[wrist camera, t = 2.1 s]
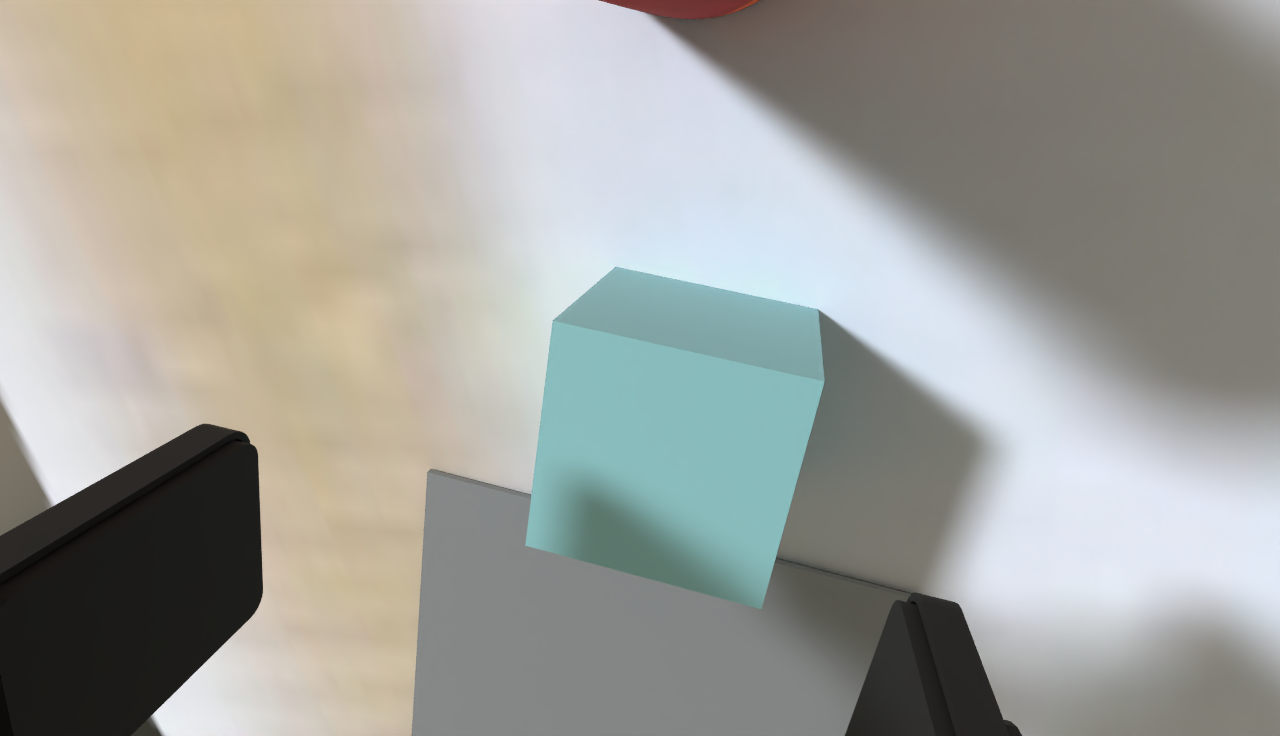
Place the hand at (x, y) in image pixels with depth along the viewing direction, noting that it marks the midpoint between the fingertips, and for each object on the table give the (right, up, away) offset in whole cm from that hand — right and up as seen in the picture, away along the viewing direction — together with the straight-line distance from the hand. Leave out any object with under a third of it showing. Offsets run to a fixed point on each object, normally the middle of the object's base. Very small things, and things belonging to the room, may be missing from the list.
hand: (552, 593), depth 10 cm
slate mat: (+1, -6, +12) cm, 13 cm away
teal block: (+3, +3, +8) cm, 9 cm away
